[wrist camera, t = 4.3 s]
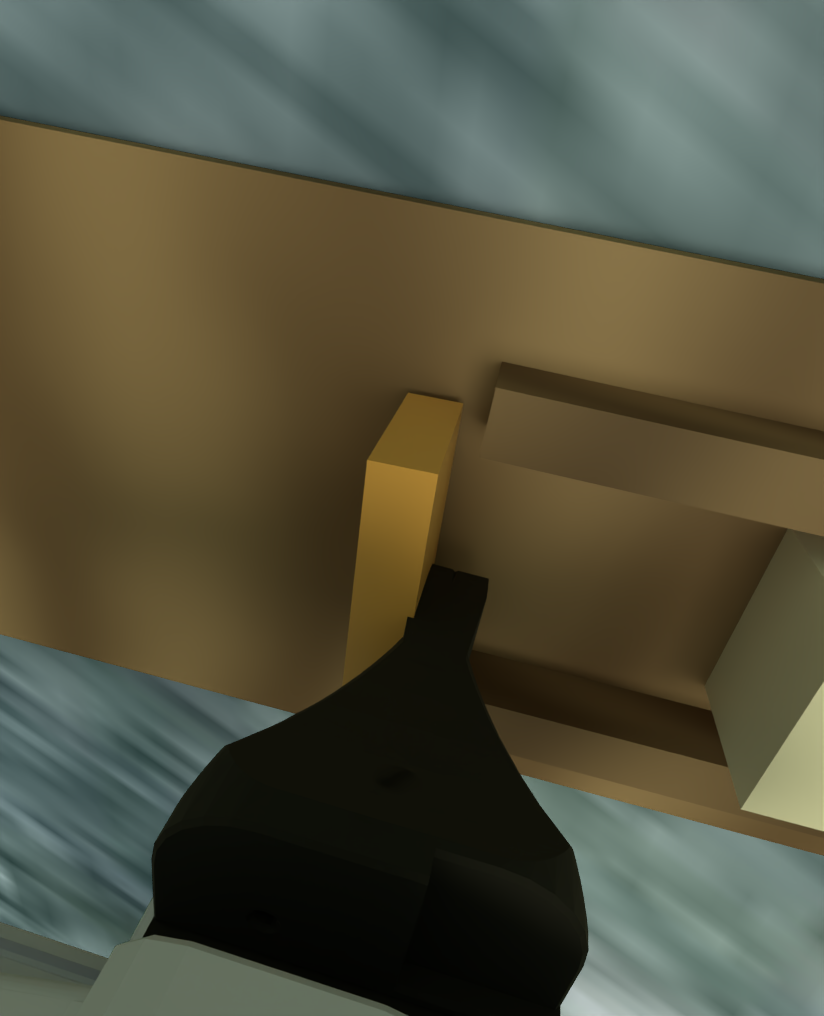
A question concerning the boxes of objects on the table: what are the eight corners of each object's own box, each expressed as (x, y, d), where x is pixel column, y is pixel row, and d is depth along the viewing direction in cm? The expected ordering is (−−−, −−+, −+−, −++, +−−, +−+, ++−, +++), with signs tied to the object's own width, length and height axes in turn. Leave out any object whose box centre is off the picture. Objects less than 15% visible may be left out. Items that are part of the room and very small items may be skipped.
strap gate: (372, 655, 15) (333, 762, 12) (408, 393, 12) (367, 460, 9) (416, 665, 15) (386, 775, 12) (463, 403, 11) (438, 474, 9)
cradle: (13, 613, 18) (-55, 670, 16) (-77, 100, 12) (-204, 87, 10) (1189, 925, 15) (1286, 1040, 13) (1810, 474, 9) (2152, 559, 7)
